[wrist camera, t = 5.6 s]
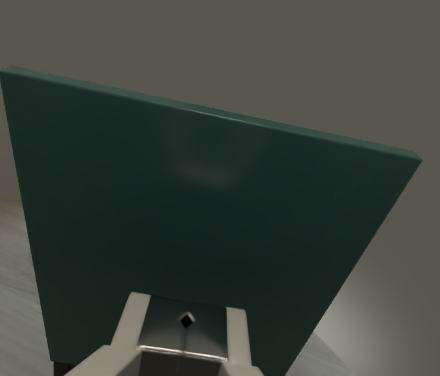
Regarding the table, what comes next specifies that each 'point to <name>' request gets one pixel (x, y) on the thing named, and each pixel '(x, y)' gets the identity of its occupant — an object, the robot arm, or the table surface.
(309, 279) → the lid
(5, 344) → the table surface
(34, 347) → the table surface
